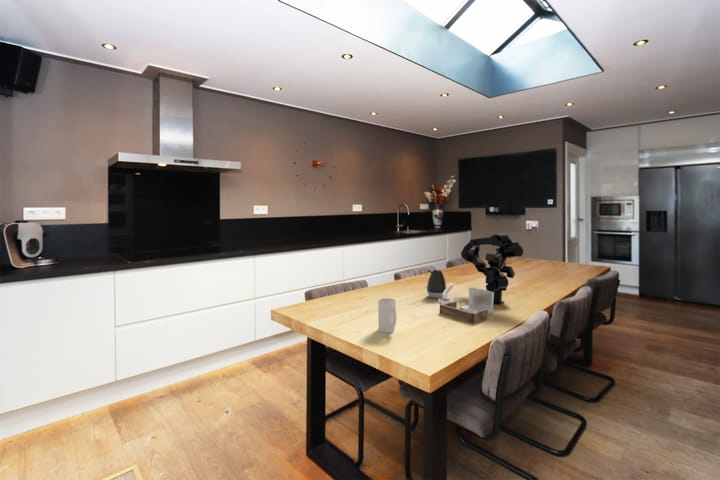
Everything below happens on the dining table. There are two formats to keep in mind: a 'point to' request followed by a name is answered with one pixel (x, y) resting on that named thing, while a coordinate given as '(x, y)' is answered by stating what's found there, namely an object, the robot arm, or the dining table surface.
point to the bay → (462, 313)
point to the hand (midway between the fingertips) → (486, 283)
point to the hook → (445, 295)
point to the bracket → (479, 300)
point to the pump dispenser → (436, 284)
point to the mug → (386, 315)
